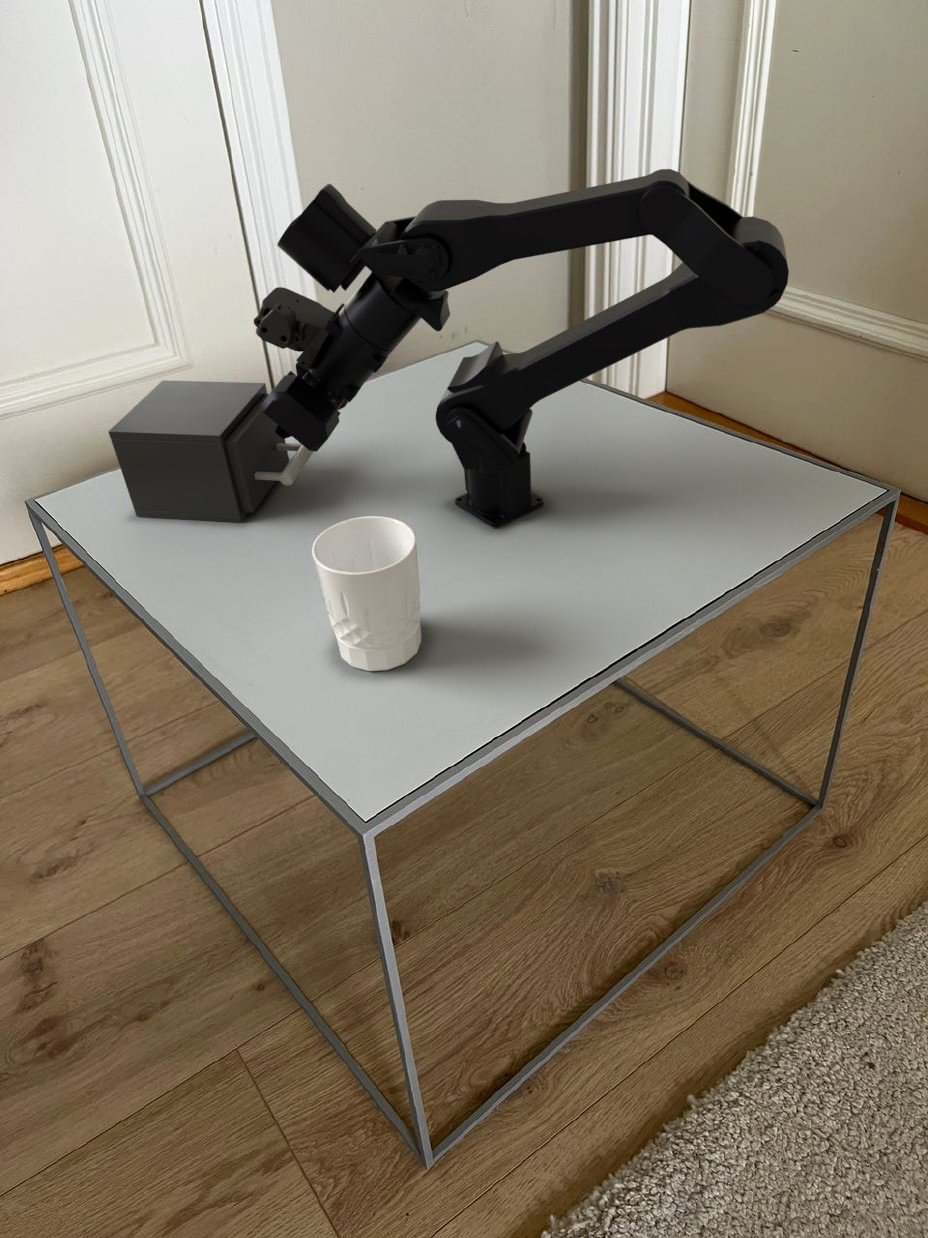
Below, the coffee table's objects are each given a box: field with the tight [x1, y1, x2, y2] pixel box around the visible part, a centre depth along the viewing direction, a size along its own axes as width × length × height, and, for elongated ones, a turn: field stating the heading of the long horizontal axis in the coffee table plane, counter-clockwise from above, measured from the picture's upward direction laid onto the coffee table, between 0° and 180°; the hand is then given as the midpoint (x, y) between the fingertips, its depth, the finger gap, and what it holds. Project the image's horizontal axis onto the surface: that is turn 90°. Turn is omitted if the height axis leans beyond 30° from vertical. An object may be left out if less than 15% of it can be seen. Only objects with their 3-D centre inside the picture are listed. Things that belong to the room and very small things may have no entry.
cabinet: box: [108, 379, 268, 524], centre depth 97 cm, size 12×12×10 cm
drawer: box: [225, 393, 315, 513], centre depth 96 cm, size 15×10×8 cm
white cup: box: [311, 515, 422, 672], centre depth 74 cm, size 8×8×10 cm
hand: (280, 434), depth 93 cm, fingers closed
